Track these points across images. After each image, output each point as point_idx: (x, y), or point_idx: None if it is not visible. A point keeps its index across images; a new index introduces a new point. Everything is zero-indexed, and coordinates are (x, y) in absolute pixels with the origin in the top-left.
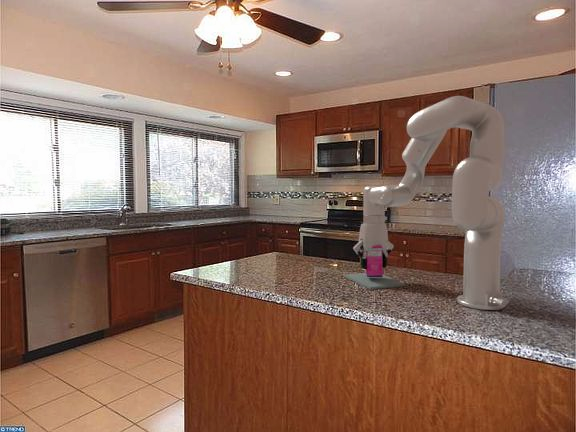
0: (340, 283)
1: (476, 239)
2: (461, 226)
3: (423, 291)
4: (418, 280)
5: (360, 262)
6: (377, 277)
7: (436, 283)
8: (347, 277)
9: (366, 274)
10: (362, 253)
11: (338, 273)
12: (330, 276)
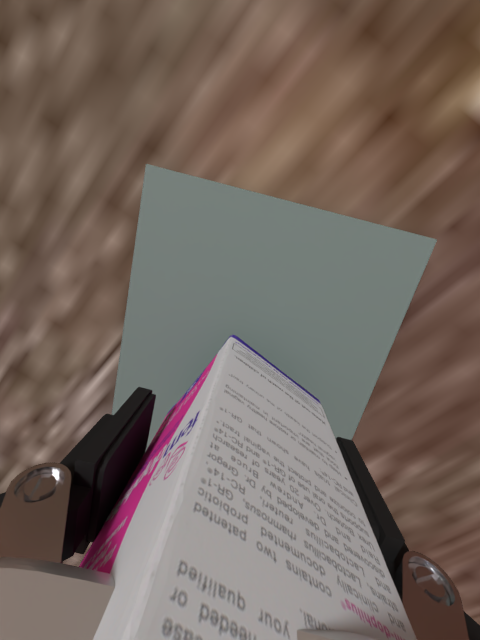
0: (31, 312)
1: None
2: None
3: None
4: (466, 507)
5: (86, 434)
6: (294, 378)
7: (471, 580)
8: (139, 235)
9: (188, 389)
10: (28, 549)
11: (188, 26)
12: (65, 94)
